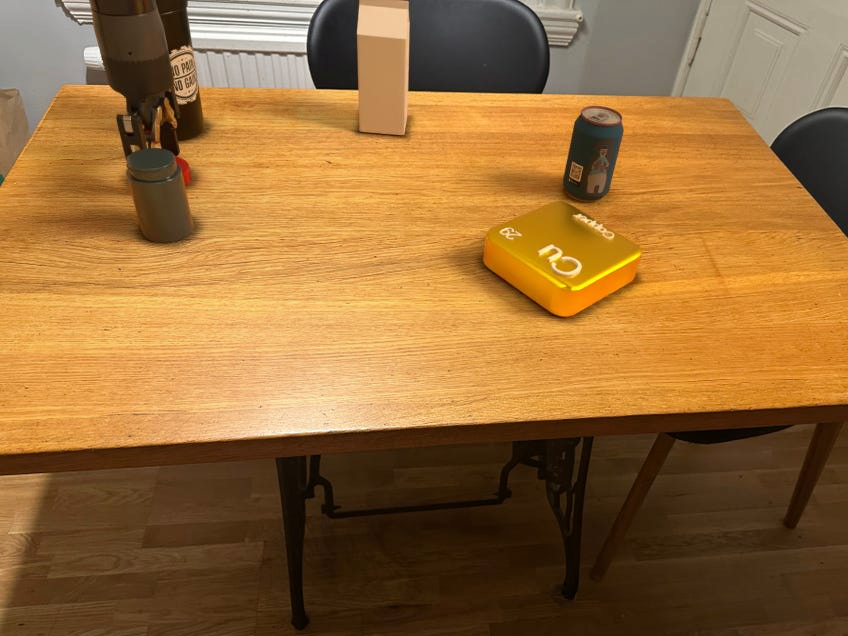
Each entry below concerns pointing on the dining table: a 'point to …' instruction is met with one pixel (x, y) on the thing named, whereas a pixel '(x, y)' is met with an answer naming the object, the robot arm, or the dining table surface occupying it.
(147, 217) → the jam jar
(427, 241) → the dining table surface
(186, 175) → the jar lid
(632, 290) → the dining table surface
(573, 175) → the soda can
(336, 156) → the dining table surface
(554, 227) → the element tile
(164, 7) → the water bottle
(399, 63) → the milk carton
